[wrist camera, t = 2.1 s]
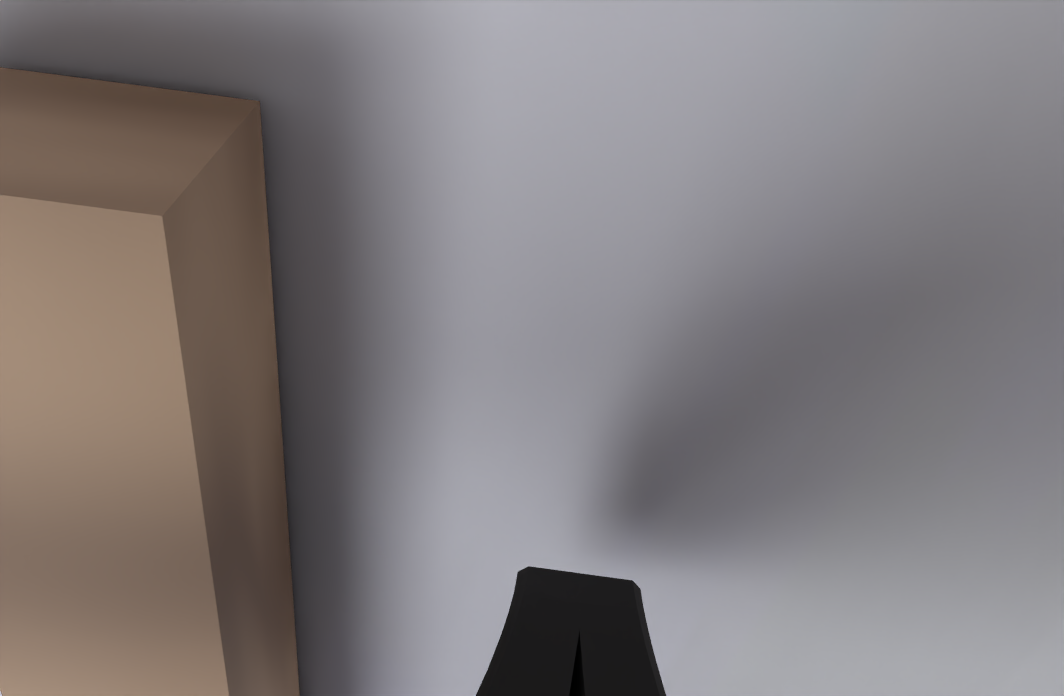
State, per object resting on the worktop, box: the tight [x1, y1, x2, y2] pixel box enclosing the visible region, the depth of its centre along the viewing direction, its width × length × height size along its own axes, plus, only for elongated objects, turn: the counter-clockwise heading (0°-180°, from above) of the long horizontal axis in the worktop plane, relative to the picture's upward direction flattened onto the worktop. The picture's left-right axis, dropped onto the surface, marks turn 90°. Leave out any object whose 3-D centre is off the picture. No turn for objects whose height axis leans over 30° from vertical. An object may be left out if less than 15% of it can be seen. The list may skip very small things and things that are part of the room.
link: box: [0, 67, 300, 696], centre depth 12 cm, size 12×3×3 cm, turn 174°
